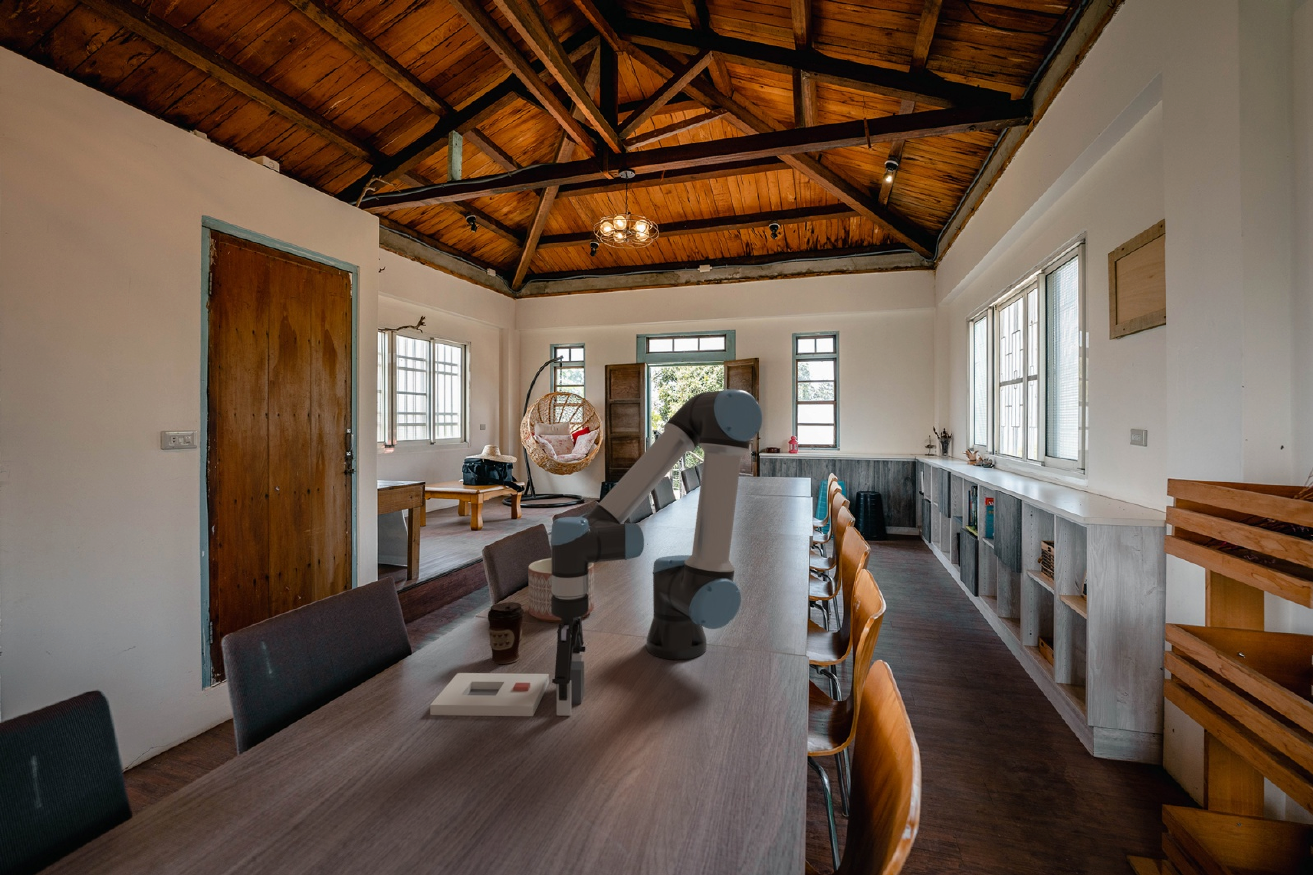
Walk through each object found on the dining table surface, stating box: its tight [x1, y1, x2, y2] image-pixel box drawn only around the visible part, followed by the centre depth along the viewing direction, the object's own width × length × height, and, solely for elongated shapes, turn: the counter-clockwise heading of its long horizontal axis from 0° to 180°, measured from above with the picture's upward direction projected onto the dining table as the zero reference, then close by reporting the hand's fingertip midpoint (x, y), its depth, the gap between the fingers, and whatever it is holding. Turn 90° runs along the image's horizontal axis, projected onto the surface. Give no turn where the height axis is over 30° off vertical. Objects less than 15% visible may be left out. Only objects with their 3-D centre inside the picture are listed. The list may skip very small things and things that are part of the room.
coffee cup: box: [487, 601, 525, 665], centre depth 134 cm, size 9×8×13 cm
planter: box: [527, 557, 595, 624], centre depth 167 cm, size 19×19×15 cm
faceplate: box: [429, 672, 550, 717], centre depth 115 cm, size 20×14×3 cm
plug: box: [555, 660, 585, 705], centre depth 115 cm, size 5×4×7 cm
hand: (570, 698), depth 115 cm, fingers open, 12 cm apart
